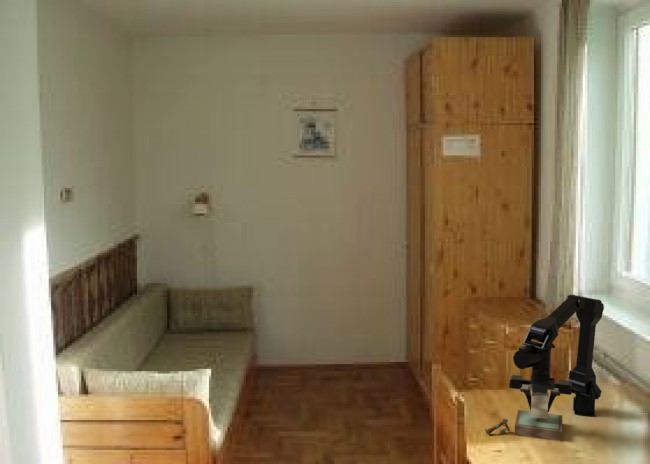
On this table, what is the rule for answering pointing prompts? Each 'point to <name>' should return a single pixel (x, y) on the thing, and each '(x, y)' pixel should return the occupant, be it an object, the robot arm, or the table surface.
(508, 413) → the table surface
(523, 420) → the brown and green tray
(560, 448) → the table surface
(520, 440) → the table surface
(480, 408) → the table surface
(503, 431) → the grey brown jointed piece
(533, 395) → the maple block
